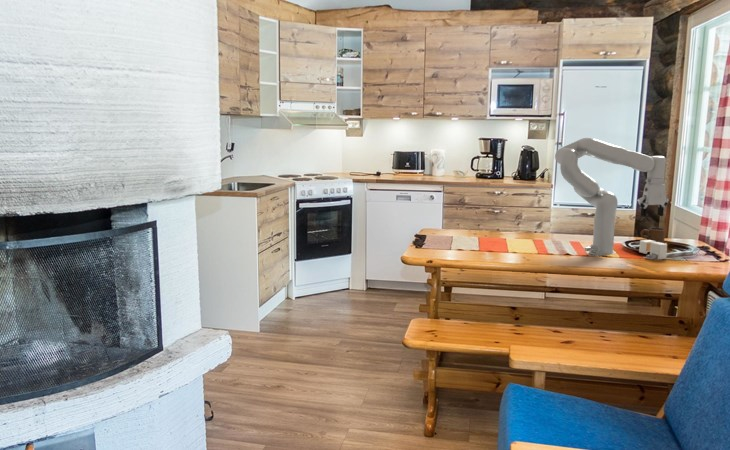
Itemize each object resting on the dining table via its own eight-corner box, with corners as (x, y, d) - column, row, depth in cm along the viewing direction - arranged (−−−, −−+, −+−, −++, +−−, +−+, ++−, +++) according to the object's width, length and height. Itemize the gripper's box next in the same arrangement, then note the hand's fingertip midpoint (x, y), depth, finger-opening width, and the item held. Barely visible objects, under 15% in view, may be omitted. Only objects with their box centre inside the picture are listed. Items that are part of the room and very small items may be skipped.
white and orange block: (655, 255, 282) (656, 241, 281) (645, 256, 280) (646, 242, 279) (648, 253, 286) (649, 239, 285) (638, 254, 285) (639, 240, 284)
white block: (659, 259, 269) (660, 244, 267) (649, 256, 274) (650, 242, 273) (667, 258, 270) (668, 244, 269) (657, 255, 276) (658, 241, 274)
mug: (642, 247, 300) (643, 230, 298) (637, 244, 307) (638, 227, 306) (666, 248, 298) (667, 230, 297) (660, 245, 306) (661, 227, 304)
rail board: (653, 262, 267) (653, 256, 267) (641, 259, 274) (642, 253, 273) (696, 258, 275) (697, 252, 274) (684, 255, 281) (685, 249, 281)
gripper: (645, 182, 274) (642, 217, 277) (675, 181, 278) (672, 216, 281) (634, 181, 281) (631, 215, 284) (664, 180, 285) (660, 214, 288)
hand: (651, 216), depth 282 cm, fingers open, 9 cm apart
